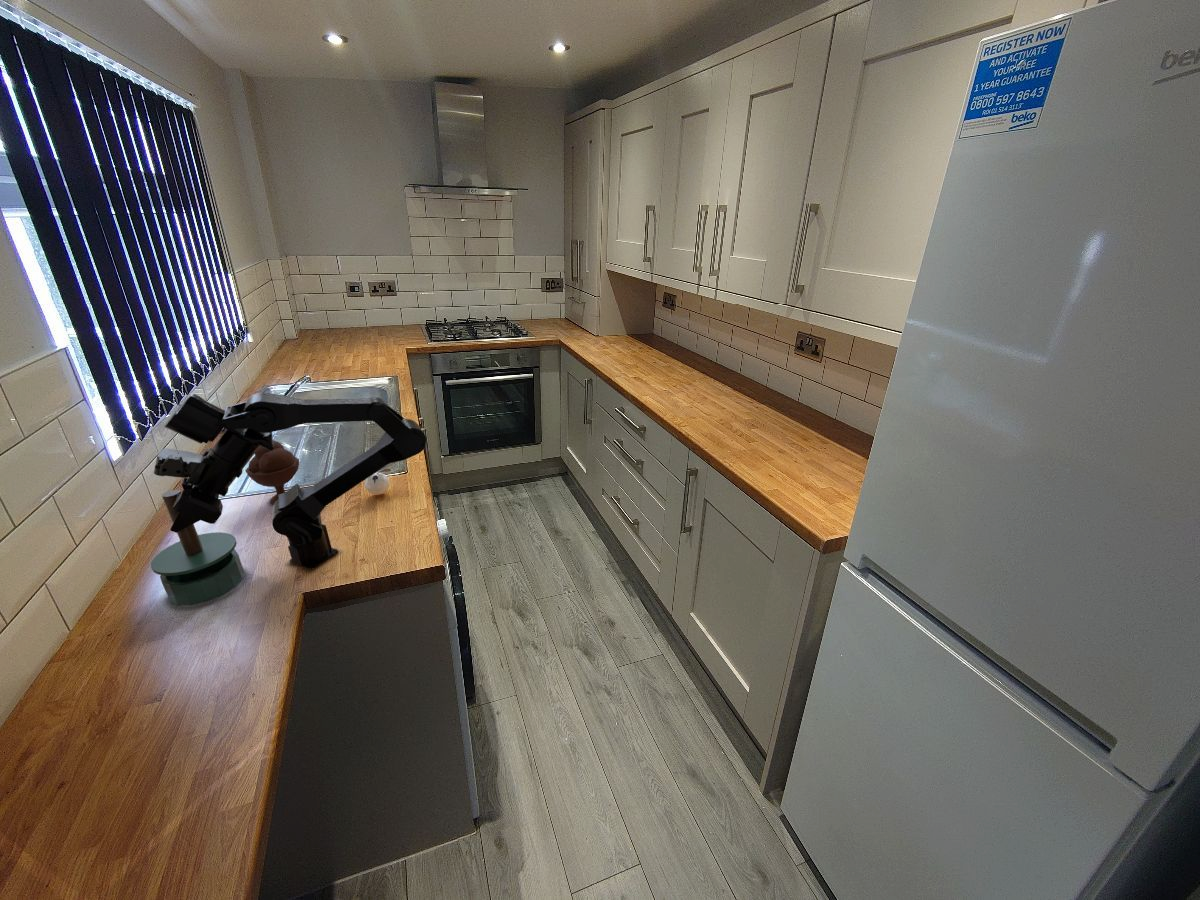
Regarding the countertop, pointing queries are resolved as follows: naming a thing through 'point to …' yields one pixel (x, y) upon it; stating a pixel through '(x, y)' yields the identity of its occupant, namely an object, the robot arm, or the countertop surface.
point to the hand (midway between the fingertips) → (174, 527)
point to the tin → (204, 582)
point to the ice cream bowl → (273, 468)
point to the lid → (190, 547)
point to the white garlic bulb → (377, 483)
